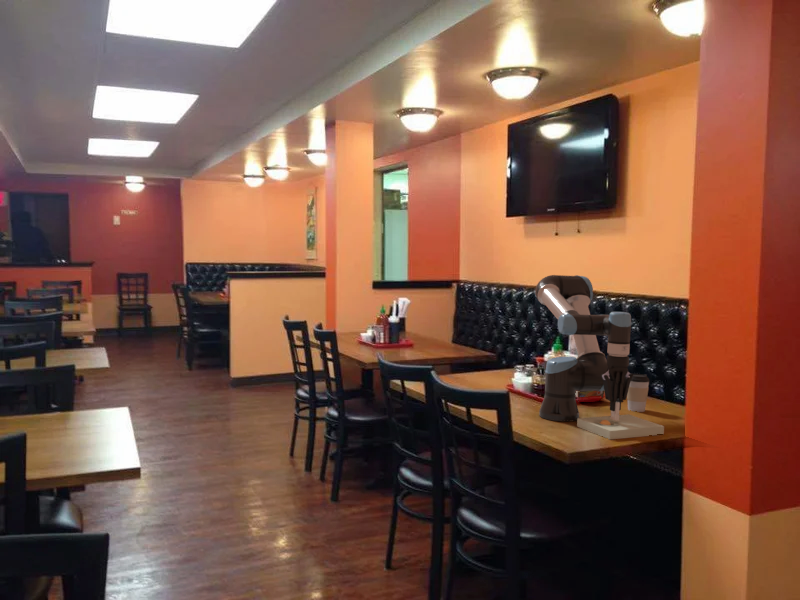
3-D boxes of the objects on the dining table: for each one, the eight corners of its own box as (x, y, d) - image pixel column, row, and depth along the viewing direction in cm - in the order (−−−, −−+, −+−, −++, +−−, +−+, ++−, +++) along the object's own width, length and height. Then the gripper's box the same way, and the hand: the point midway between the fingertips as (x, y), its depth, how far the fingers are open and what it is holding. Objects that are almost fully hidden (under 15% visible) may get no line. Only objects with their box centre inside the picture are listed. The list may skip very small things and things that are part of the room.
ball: (596, 429, 236) (597, 418, 237) (605, 431, 238) (606, 420, 239) (603, 430, 233) (604, 419, 233) (612, 432, 234) (613, 421, 235)
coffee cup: (627, 411, 268) (629, 375, 267) (622, 406, 277) (624, 371, 276) (650, 413, 267) (652, 376, 266) (644, 408, 276) (646, 372, 275)
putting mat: (577, 426, 242) (577, 418, 242) (628, 422, 251) (629, 414, 251) (609, 439, 225) (610, 430, 225) (663, 434, 234) (664, 426, 234)
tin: (578, 404, 280) (579, 384, 280) (573, 402, 283) (574, 383, 282) (604, 401, 288) (605, 382, 287) (598, 399, 290) (599, 381, 290)
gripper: (610, 357, 229) (607, 423, 231) (639, 356, 234) (636, 420, 236) (596, 353, 236) (593, 418, 238) (625, 352, 241) (622, 415, 243)
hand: (614, 419), depth 237 cm, fingers closed
